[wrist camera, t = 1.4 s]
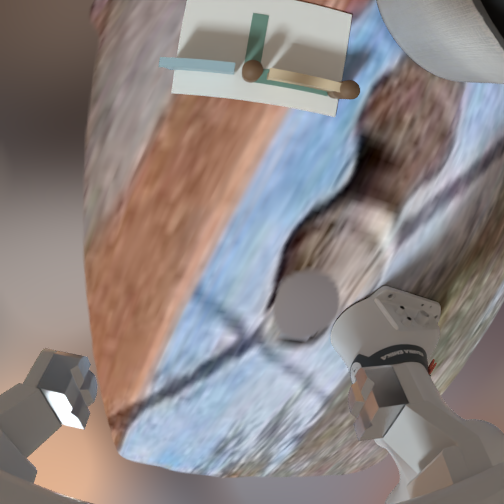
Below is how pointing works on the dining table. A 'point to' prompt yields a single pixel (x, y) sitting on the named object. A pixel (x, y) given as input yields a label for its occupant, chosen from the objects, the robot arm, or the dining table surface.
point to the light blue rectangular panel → (197, 65)
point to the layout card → (264, 49)
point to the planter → (450, 36)
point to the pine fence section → (302, 80)
